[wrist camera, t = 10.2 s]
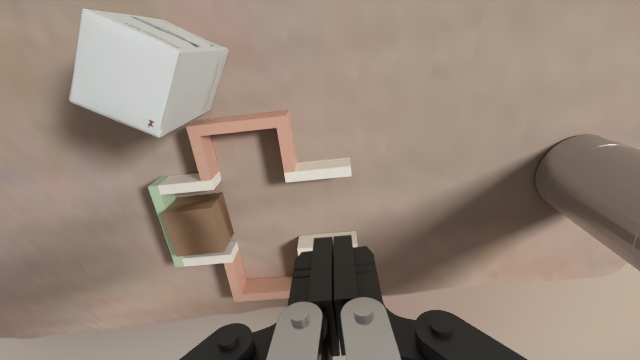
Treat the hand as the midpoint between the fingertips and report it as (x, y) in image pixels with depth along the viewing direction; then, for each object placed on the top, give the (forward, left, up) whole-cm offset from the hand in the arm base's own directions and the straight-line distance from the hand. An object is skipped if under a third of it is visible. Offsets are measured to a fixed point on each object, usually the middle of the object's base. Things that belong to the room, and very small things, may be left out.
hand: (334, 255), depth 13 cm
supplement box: (+15, -7, -27) cm, 32 cm away
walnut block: (+18, +11, -27) cm, 34 cm away
